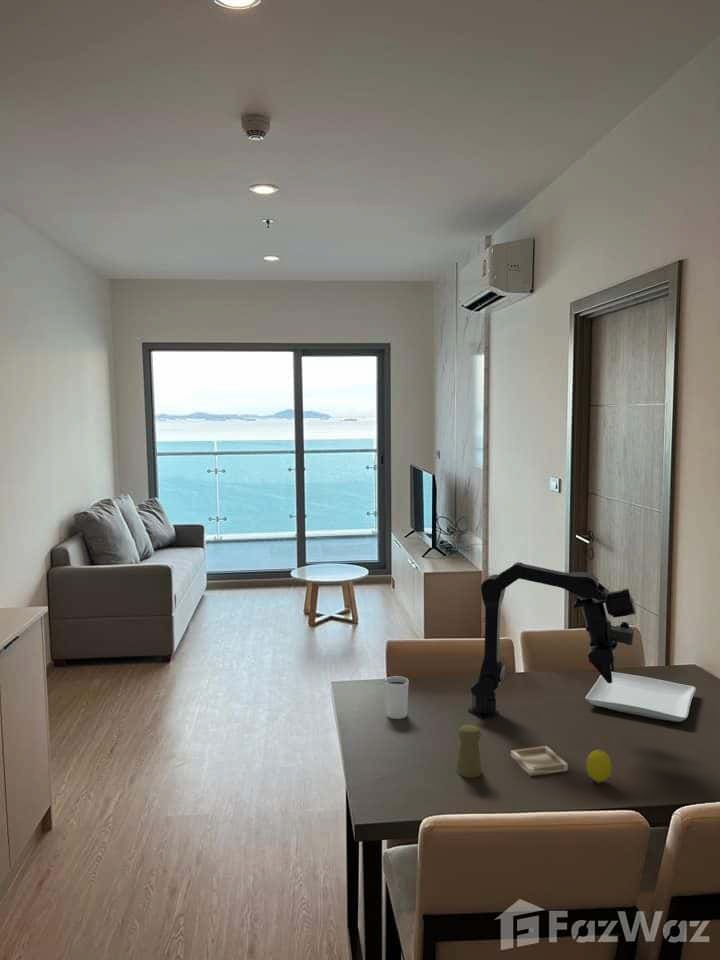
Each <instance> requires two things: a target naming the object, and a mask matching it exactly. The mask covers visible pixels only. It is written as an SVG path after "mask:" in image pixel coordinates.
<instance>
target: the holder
mask: <svg viewBox="0 0 720 960" xmlns="http://www.w3.org/2000/svg"><path fill="white" fill-rule="evenodd" d="M510 758H511V759H512V760H513V761H514V762H515V763H516V764H517V765H518V766H519V767H520V768H521V769H523V771H524V772H526V774H527V775H528V776H529V777H531V776H532V777H533V776H539V775H548V774H554V773H560V772H566V771H568V770H569V769H568V768H569V766H568V765H569V764H568V762H566V761H565V760H563V758H561V757H560V756H559V755H558V754H557V753H556V752H554V751H553V750H552V749H551V748H550V747H549V746H547V745H543V746H542V745H541V746H536V747H535V746H534V747H527V748H521V749H520V748H519V749H512V750H510Z"/></svg>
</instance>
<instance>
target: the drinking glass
mask: <svg viewBox="0 0 720 960" xmlns="http://www.w3.org/2000/svg"><path fill="white" fill-rule="evenodd" d="M409 683H410V682H409V679H408V678H407V677H404V676H397V675H395V676H394V675H393V676H389V677H387V678H385V679H384V687H385V689H384V690H385V705H386V706H385V708H386V709H385V710H386V711H385V712H386V716H387V717H388V718H389V719H390V718H391V719H394V720H395V719H396V720H401V719H404V718H406V717H407V715H408V703H409V702H408V700H409Z"/></svg>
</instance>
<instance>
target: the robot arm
mask: <svg viewBox="0 0 720 960" xmlns="http://www.w3.org/2000/svg"><path fill="white" fill-rule="evenodd" d="M518 580H524V581H527V582H528V581H529V582H534V583H538V584H542V585H547V586H552V587H556V588H561V589H563V590H566V592H569V593H571V594H573V595H575V596H577V597H576V600H575V602H574V603H573V605H572V606H573V608H575V609H576V608H581V610H582V614H583V617H584V622H585V630H586V631H585V632H587V633H588V637H589V646H590V649H589V651H588V653H587V658H588V661H589V663H590V664H591V665H592V666H594V668H595V669H596V671H598V673H599V674H600V675H602V676H603V678H604V679H605V680H606V681H607V683H612V672H614V671H615V659H616V656H615V655H616V654H615V649H616V648H617V646H618V643H620V644H625V645H627V646H631V645H633V640H634V633H635V632H634V631H635V630H634V628H633V627H630V625H629V622H627V621H621V623H620V624H619V625H612V622H611V621H610V620H609V619H608V616H607V615H609V616H610V617H612V618H614V619H615V618H620V617H627V616H633V615H634V616H635V615H637V613H636V612H637V611H636V607H635V602H634V599H633V597H632V594H631V593H630V589H629V588H623V589H620V590H616V591H615V590H614V591H609V589H607V588H606V587H605V585H603V584H601V583H600V581H599V578H598V576H596V575H595V574H594V573H592V572H588V571H587V572H586V571H585V572H584V571H583V572H582V571H581V572H580V571H573V572H563V571H560V570H555V569H549V568H545V567H540V566H536V565H531V564H526V563H523V562H521V561H519V562H515V563H514V564H513V565H512V566H510V567H508V568H507V569H506V570H503V571H502V572H500V573H499V574H491V575H489V577H487V578H486V579H485V580H484V581H483V582H482V584H481V586H480V591H481V599H482V602H483V606H484V608H485V609H484V610H485V616H484V624H485V625H484V652H483V653H484V656H483V660H482V664H481V668H480V672H479V676H478V677H477V679H476V680H475V682H473V685H472V686H471V688H470V692H471V694H472V704H471V705H472V707H470V708H468V712H470V713H472V714H474V715H476V716H478V717H479V718H482V719H485V718H489V717H493V716H495V715H499V714H500V711H499V710H497V700H496V693H495V691H496V690H497V689H498V688H499V686H500V684H501V683H502V681H504V678H505V677H506V676H507V674H506V664H507V663H506V661H501V657H500V643H501V642H500V640H501V639H500V637H501V631H500V630H501V608H502V605H503V600H504V597H505V592H506V588H507V587H509V586H510V585H512V584H513V583H515V582H516V581H518ZM605 608H606V609H605ZM606 611H607V612H606Z"/></svg>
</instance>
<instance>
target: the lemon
mask: <svg viewBox="0 0 720 960" xmlns="http://www.w3.org/2000/svg"><path fill="white" fill-rule="evenodd" d="M612 766H613V765H612V760H611V758H610V756H609V754H608V753H606V752H605V751H604V750H602V749H601V748H600V749H596V750H593V751H591V752H590V753H589V754H588V757H587V758H586V766H585V767H586V772H587V774H588V776H589V777H590V778H591V780H594V781H595V782H596V784H600V783H602V782H605V781H607V780H608V779H609V778H610V776H611V774H612Z"/></svg>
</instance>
